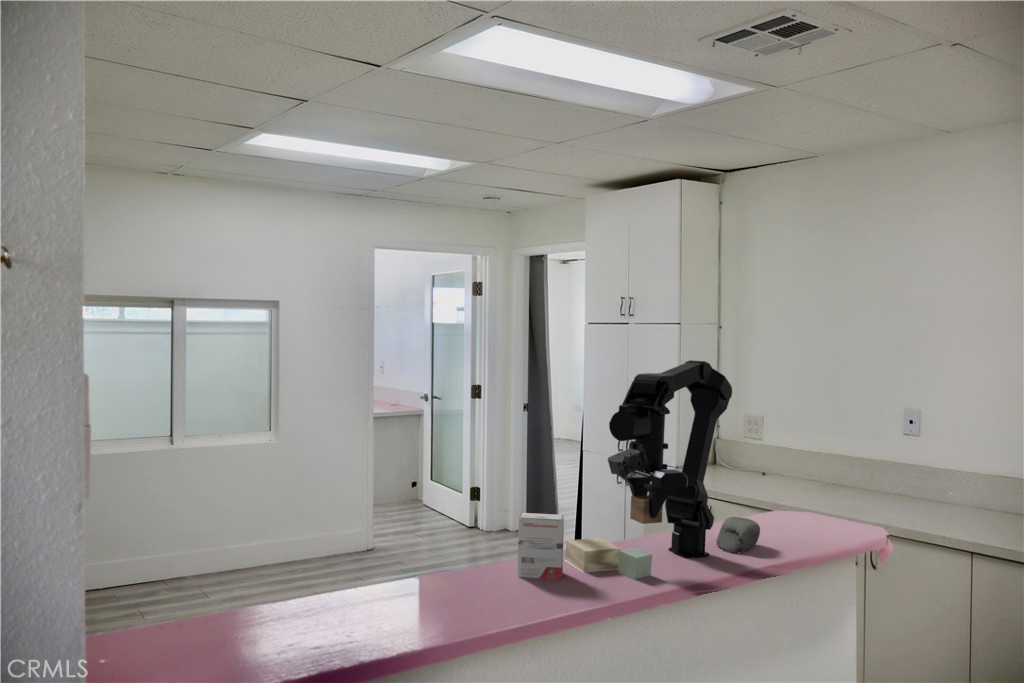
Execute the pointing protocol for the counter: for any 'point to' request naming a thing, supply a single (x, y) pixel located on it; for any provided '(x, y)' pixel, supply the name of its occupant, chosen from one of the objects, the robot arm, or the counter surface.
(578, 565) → the birch base block
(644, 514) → the walnut cube
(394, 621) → the counter surface
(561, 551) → the ink box
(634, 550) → the sage block
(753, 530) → the stone
